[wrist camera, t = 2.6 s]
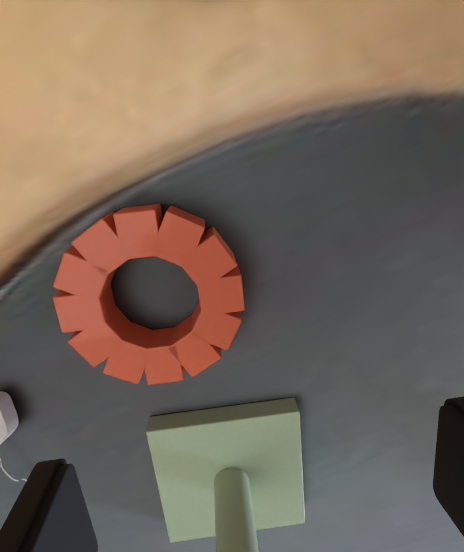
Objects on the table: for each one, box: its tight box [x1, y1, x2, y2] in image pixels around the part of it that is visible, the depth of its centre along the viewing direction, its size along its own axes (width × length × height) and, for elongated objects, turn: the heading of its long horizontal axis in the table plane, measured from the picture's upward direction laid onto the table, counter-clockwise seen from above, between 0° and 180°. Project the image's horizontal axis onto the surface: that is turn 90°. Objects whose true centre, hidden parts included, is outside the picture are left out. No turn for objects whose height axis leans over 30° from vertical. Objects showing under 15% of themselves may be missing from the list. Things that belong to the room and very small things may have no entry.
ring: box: [53, 204, 245, 385], centre depth 21 cm, size 10×10×2 cm
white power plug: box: [0, 391, 27, 481], centre depth 23 cm, size 6×12×3 cm, turn 40°
